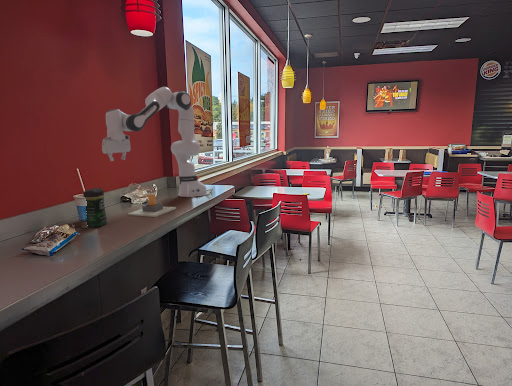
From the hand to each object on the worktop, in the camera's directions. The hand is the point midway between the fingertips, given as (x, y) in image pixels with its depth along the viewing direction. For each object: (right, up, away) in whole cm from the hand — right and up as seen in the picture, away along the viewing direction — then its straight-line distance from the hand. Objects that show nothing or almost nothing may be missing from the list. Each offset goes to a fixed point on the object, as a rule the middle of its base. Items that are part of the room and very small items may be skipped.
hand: (117, 160), depth 202 cm
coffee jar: (+4, -36, -35) cm, 51 cm away
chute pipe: (+24, -30, -10) cm, 39 cm away
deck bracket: (+24, -31, -10) cm, 40 cm away
